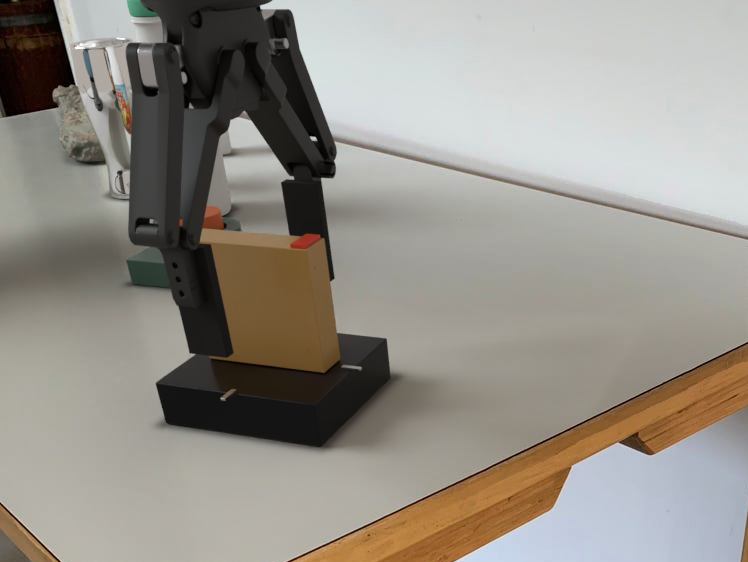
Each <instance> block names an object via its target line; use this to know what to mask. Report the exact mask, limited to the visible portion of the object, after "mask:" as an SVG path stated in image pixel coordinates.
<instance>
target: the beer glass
mask: <svg viewBox="0 0 748 562" xmlns="http://www.w3.org/2000/svg"><path fill="white" fill-rule="evenodd" d="M131 42H134V40H133V39H132V38H129V37H102V38H101V37H100V38H92V39H84V40H79V41H75V42H72V43H70V44H69V48H70V54H71V59H72V64H73V69H74V74H75V79H76V84H77V86H78V88H79V92H80V95H81V99H82V102H83V105H84V108H85V110H86V113H87V116H88V118H89V121H90V123H91V125H92V128H93V130H94V132H95V135H96V137H97V139H98V142H99V144H100V146H101V149H102V151H103V154H104V157H105V160H106V161H105V164H106V169H107V175H108V187H109V194H110V196H111V197H112V198H114V199H119V200H129V187H130V152H131V116H132V89H131V84H130V78H129V72H128V66H127V60H126V52H125V51H126V46H127V45H128V43H131Z"/></svg>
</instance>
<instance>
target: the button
mask: <svg viewBox="0 0 748 562" xmlns="http://www.w3.org/2000/svg"><path fill="white" fill-rule="evenodd" d="M222 217H223V216H222V215H221V210H220V209H219V208H217V207H213V206H206V211H205V217H204V222H203V227H202V229H203V228H204V229H216V230H223V229H224V225H223V220H222ZM180 226H182V219H180Z"/></svg>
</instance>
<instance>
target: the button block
mask: <svg viewBox="0 0 748 562" xmlns="http://www.w3.org/2000/svg"><path fill="white" fill-rule="evenodd" d="M222 220H223V225H224V229H223V230H229V231H241V232H243V230H242V226H241V221H240V220H237V219H235V218H232V217H228V216H222ZM125 262H126V266H127V269H128V273H129V277H130V280H131V284H132V285H139V286H148V287H150V286H151V287H157V288H158V287H160V288H169V289H171V288H170V284H169V282H170V281H169V280H168V276H167V272H166V268H165V264H164V259H163V256H162V253H161V252H160V250H159V249H158V248H156V247H146V248H144V249H143V250H141V251H140V252H137V253H136V254H134V255H132V256H130V257H128V258H126V259H125Z"/></svg>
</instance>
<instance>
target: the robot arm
mask: <svg viewBox="0 0 748 562" xmlns="http://www.w3.org/2000/svg"><path fill="white" fill-rule="evenodd" d="M140 2H141V4H142V5H143V6H144V7H145V8H146V9H148V10H150V11H152V12H156V13H157V15H158V16H159V17H160V19H161V22H162V30H163V43H138V42H137V41H136V42H134V41H133V42H131V43H128V45H127V46H126V51H125V52H126V60H127V66H128V72H129V78H130V84H131V89H132V116H131V152H130V187H129V199H128V225H127V226H128V228H127V233H128V239H129V241H130V242H131V244H132V245H134V246H138V247H146V248H149V247H156V248H158V249H159V250H160V252H161V253H162V256H163V259H164V264H165V268H166V272H167V276H168V280H169V281H170V282H169V284H170V288H169V289H170V292H171V297H172V299H173V302H174V303H175V305H176V307H178V310H179V315H180V318H181V319H180V320H181V323H182V328H183V332H184V335H185V339H186V343H187V347H188V348H187V349H188V352H189V354H192V355H195V354H199V355H207V356H215V357H224V358H228V357H229V356H231V355H232V354H233V353H234V352H233V347H232V342H231V338H230V333H229V328H228V323H227V319H226V314H225V309H224V304H223V300H222V295H221V290H220V285H219V281H218V276H217V271H216V266H215V261H214V257H213V252H212V247H211V244H202V243H200V238H201V232H202V227H203V222H204V217H205V211H206V206H207V201H208V196H209V190H210V185H211V180H212V175H213V169H214V164H215V159H216V154H217V148H218V143H219V138H220V136H221V135H222V134H224V133H225V132H227V130H228V131H229V128H230V125H231V121H232V120H235V119H237V118H240V116H241V115H242V114H244V112H245V113H246V115H247V116H248V118H249V119H250V121H251V122H252V124H253V125H254V126H255V128H256V130H257V131H258V132H259V134H260V136H261V138H263V140H264V141H265V143H266V144H267V145H268V147H269V148H270V150H271V151H272V153H273V154H274V156H275V158H276V159H277V160H278V162H279V163H280V165H281V166H282V167H283V170H284V171H285V172H286V173H287V175H288V176H289V177H293V179H289V178H288V179H284V180H282V181H280V185H281V191H282V198H283V204H284V211H285V217H286V224H287V229H288V235H290V236H303V235H305V234H317V235H320V238H324V240H325V248H326V255H327V262H328V270H329V277H330V283H331V282H332V281H334V280H335V279H336V277H335V271H334V270H335V269H334V263H333V255H332V248H331V241H330V233H329V226H328V219H327V212H326V204H325V198H324V188H323V183H322V179H331V180H332V179H335V177H336V174H337V165H336V162H335V160H336V158H337V156H338V155H337V154H338V151H337V145H336V142H335V140H334V137H333V135H332V132H331V129H330V126H329V123H328V121H327V118H326V116H325V112H324V110H323V108H322V105H321V101H320V100H319V96H318V94H317V91H316V89H315V85H314V83H313V81H312V77H311V75H310V72H309V69H308V67H307V65H306V62H305V59H304V56H303V54H302V51H301V49H300V43H299V38H298V33H297V32H298V31H297V28H296V22H295V16H294V13H293V12H292V10H291V9H288V8H286V9H285V8H263V9H262V8H261V6H263V5H266V4H267V5H268V4H269V3H271V2H273V0H140ZM158 91H159V93H158ZM190 103H191V105H192V106H193V108H194V109H192V108H189V105H190ZM312 138H315V140H313V139H312ZM180 219H182V226H180ZM151 220H152V222H151Z"/></svg>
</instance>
